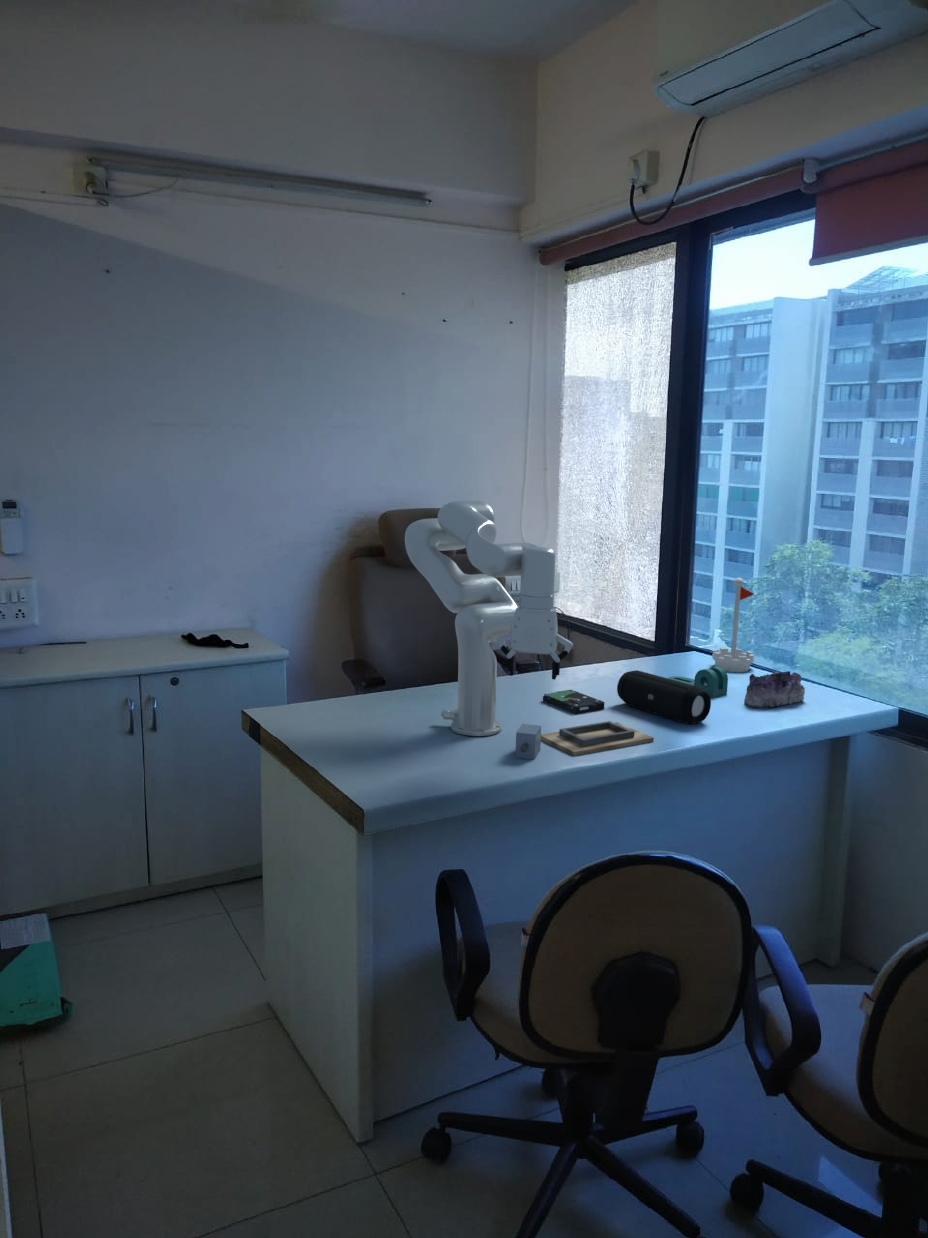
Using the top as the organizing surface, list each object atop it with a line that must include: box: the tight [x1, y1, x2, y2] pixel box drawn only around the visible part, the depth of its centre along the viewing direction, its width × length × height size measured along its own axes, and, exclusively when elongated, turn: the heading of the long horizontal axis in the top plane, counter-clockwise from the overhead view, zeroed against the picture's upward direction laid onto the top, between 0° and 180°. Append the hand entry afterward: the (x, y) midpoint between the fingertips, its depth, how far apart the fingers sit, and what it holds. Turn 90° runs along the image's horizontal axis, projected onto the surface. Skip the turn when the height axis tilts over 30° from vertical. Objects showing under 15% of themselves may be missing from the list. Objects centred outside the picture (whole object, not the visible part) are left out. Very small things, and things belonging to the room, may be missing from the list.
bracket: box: [667, 666, 729, 699], centre depth 272 cm, size 18×7×8 cm, turn 40°
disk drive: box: [542, 689, 605, 715], centre depth 253 cm, size 10×3×15 cm
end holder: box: [541, 720, 655, 757], centre depth 223 cm, size 14×24×2 cm, turn 120°
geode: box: [743, 670, 806, 709], centre depth 260 cm, size 20×12×10 cm, turn 127°
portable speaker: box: [616, 669, 712, 725], centre depth 246 cm, size 26×10×10 cm, turn 38°
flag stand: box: [711, 577, 755, 673], centre depth 298 cm, size 13×13×30 cm
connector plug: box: [515, 723, 542, 760], centre depth 211 cm, size 4×11×6 cm, turn 165°
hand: (533, 676), depth 209 cm, fingers open, 9 cm apart
